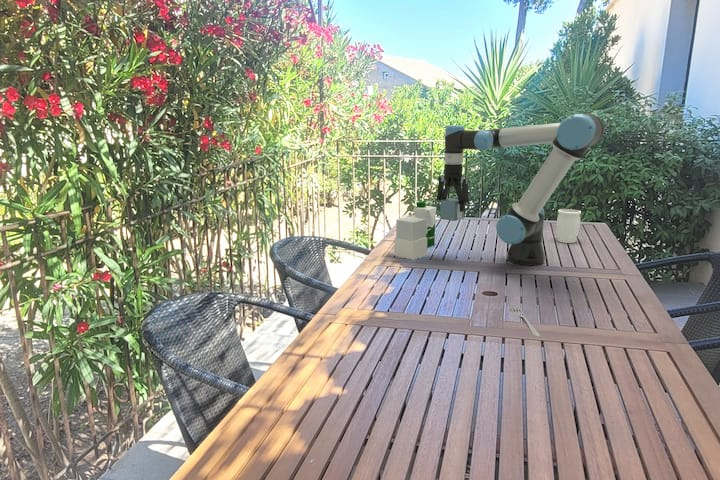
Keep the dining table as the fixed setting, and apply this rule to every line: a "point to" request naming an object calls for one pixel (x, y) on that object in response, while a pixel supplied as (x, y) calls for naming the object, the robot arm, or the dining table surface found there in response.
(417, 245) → the tower base
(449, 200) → the slate block
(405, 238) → the tower top
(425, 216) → the milk carton
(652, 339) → the dining table surface
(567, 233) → the jar
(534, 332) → the fork
